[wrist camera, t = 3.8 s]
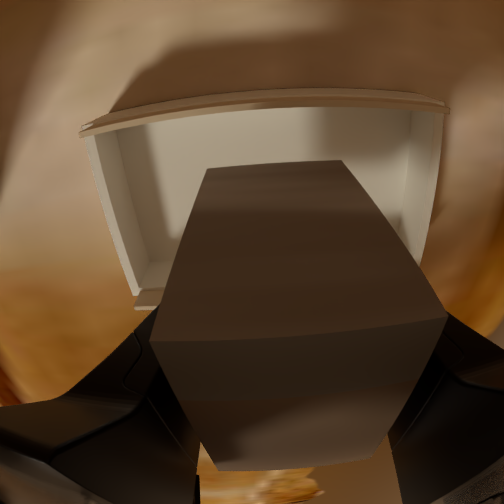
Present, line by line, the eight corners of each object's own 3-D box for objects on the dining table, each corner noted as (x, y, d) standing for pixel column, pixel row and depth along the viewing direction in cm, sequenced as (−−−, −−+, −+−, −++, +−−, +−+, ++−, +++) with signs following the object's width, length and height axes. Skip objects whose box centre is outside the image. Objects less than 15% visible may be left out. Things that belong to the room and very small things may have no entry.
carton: (399, 247, 18) (425, 290, 14) (146, 264, 18) (127, 311, 15) (415, 93, 13) (460, 107, 9) (107, 113, 13) (67, 133, 10)
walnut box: (332, 299, 12) (370, 458, 7) (229, 306, 12) (218, 471, 7) (341, 159, 9) (448, 316, 4) (206, 168, 9) (148, 341, 4)
